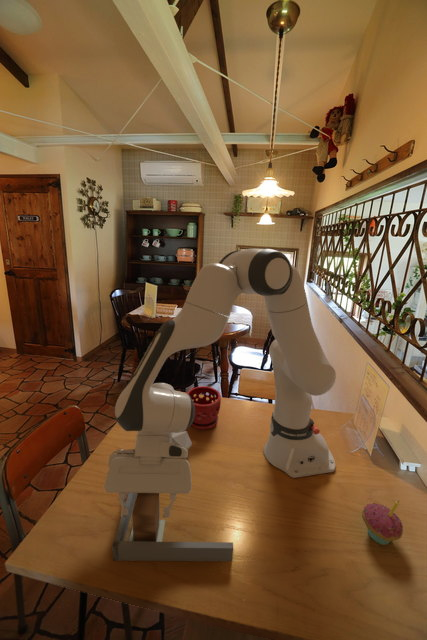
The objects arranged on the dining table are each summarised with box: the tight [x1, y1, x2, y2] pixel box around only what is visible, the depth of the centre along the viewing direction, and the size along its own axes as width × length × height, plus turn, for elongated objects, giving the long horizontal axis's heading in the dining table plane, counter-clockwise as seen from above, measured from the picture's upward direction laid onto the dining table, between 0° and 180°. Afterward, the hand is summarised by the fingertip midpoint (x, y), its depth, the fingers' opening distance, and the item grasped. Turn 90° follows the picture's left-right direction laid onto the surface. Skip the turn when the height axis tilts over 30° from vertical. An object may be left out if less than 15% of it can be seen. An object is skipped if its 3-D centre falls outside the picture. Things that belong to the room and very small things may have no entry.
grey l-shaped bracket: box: [111, 493, 234, 562], centre depth 70 cm, size 26×20×4 cm
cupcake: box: [361, 499, 404, 546], centre depth 67 cm, size 9×8×12 cm
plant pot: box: [186, 385, 222, 430], centre depth 106 cm, size 13×13×12 cm
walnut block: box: [131, 493, 160, 542], centre depth 65 cm, size 5×5×10 cm
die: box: [171, 430, 193, 451], centre depth 91 cm, size 8×9×10 cm
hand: (145, 516), depth 64 cm, fingers open, 8 cm apart
